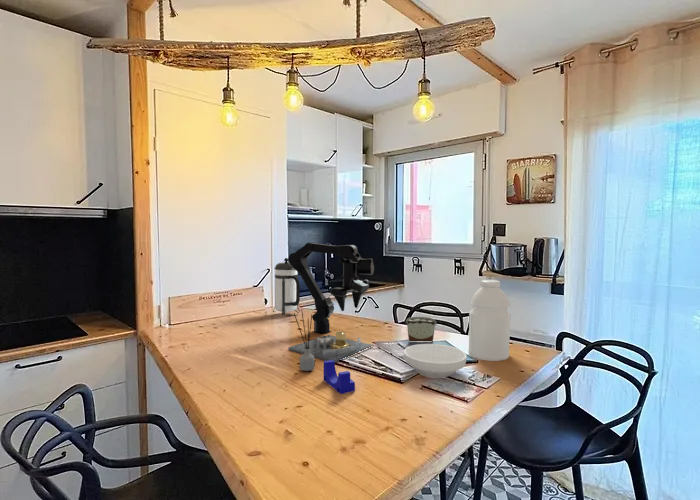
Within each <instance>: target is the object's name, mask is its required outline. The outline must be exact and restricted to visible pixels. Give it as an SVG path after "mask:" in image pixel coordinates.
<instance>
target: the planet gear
mask: <svg viewBox="0 0 700 500" xmlns="http://www.w3.org/2000/svg"><path fill="white" fill-rule="evenodd" d="M335 336H336V343H332V345H331V349H339V348H345V347H349V346H351V344H348V343H347V342H346V339H347V338H346V332H345V331H336V333H335Z"/></svg>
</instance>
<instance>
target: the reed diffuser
mask: <svg viewBox="0 0 700 500" xmlns="http://www.w3.org/2000/svg"><path fill="white" fill-rule="evenodd" d="M300 312H301V318H302V323H303V331H304V336H303V334H302V331H301V330H302V329H301V328H300V327H301V326H300V325H299V322H298V319H297V316H296V314H295V313H293V315H294V318H295V321H296V323H297V326H298V330H299V332H300V335H301V338H302V341H303V343H304V344H305V342H306V344H305V348H304V354H301V356H300V357H299V369H300V370H301V371H305V372H306V371H307V372H308V371H313V370H314V369H315V367H316V366H315V365H316V360H315V357H314V356H313V355H312V354H311V353H310V347H309V341H310V339H311V338H310V337H311V327H312V321H313V318H312V316H313V313H311V316H310V320H309V319H307V335H306V329H305V327H306V326H305V320H304V314H303V308H301V309H300ZM309 321H310V324H309ZM304 339H305V340H304ZM307 341H308V347H306V346H307Z"/></svg>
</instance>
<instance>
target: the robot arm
mask: <svg viewBox="0 0 700 500" xmlns="http://www.w3.org/2000/svg"><path fill="white" fill-rule="evenodd" d="M358 250H359V249H358V247H357V246H356V245H355V244H345V245H344V244H343V245H332V244H326V243H325V244H324V243H315V242H311V241H310V242H307V243H306V244H304V245H303V246H302V247H300V248H299V249H297V250H296V251H295V252H293V253H290V254H289V256H288V257H287V258H288V262H289V263H290V264H291V266H292V267H293V268H294V269H295V270H296V271H297V273H299V274H298V275H299V276H300V278H301V279H302V280H303V283H304V284H305V286H306V288H307V290H308V291H309V293H310V295H311V297H312V299H313V301H314V305H315V306H314V307H315V310H316V312H314V313H313V314H312V321H313V330H312V331H311V333H315V334H318V335H326V334H328V333H331V332H332V330H330V319H329V318H330V317H331V315H332V314H333V313H334V311H335V306H334V305H335V304H334V302H333V301H332V299H331V297H330V296H327V297H326V296H325V295H324V293H323V292H322V290H321V289H320V287H319V284H318V283H317V281H316V280H315V278H314V275H313V274H312V273H311V271H310V268H309V263H308V260H307V258H308V257H309V256H310V255H312V253H322V254H330V255H331V254H332V255H335V256H338V257H341V259H340V260H338V264H342V265H343V266H342V267H343V268H342V269H343V270H342V272H343V273H342V275H341V276H340V278H341V279H342V285H340V287H339V286H338V287H332V288H331V289H330V295H332V297H334V298H335V300H336V302H337V304H338V306H339V308H340V311H341V312H344V311H345V307H346V306H345V304H346V298H347V297H348V295H347V294H348V293H350V292H351V295H352V300H353V305H354V308H356V309H357V308H358V306H359V303H360V300H361V297H362V296H363V295H364V294H366V292H368V289H369V288H370V282H369V280H368V279H364V280H360V277H359V276H358V275H357V273H358V274H359V275H369V276H372V275H374V271H375V265H374V262H373V260H374V259H373V258H363V257H362V256H361V254H360V253H359V251H358Z"/></svg>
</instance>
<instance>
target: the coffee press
mask: <svg viewBox="0 0 700 500" xmlns="http://www.w3.org/2000/svg"><path fill="white" fill-rule="evenodd" d="M288 258H289V257H286V258H284V260H283V261H284V262H278V263H276V264H275V265H274V308H273V309H272V312H273V313H276V312H281V315H282V316H285V315H286V313H287V312H296V313H297V314H299V313H300V312H301V309H300V308H299V307H298V306H299V305H300V297H301V296H300V292H301V290H300V288H301V287H300V280H299V277H298V276H299V274H298V271H296V270H295V269H294V268H293V267H292V266H291V264H290V263H289V261H288ZM297 310H298V311H297Z"/></svg>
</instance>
